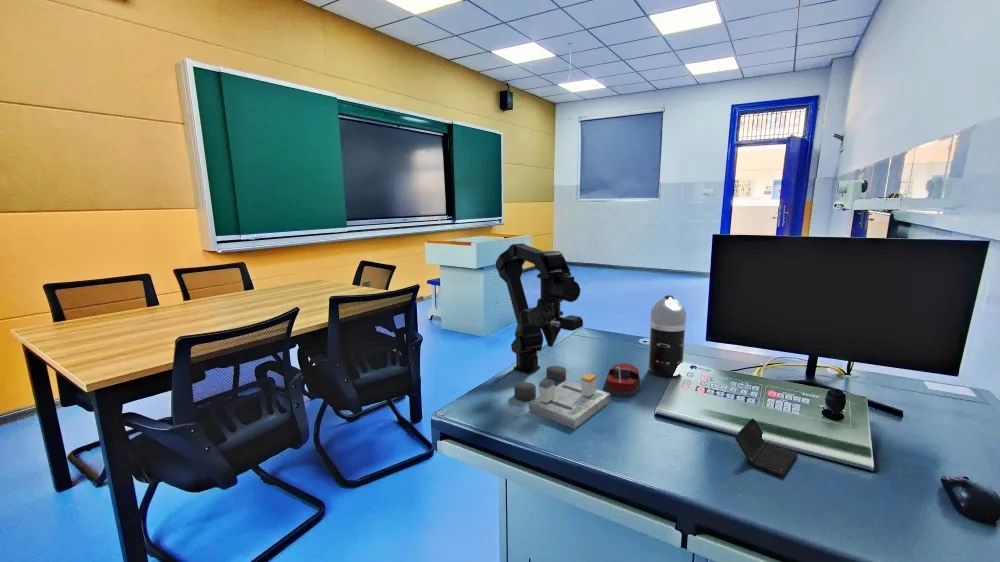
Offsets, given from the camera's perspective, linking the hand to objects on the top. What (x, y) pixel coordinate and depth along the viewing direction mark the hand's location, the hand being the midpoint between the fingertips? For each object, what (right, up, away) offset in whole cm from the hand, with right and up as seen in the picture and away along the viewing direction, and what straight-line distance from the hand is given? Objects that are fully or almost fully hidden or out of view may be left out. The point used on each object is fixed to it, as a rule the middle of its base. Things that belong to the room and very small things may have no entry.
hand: (550, 346), depth 125 cm
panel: (+4, -14, -11) cm, 19 cm away
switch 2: (+9, -11, -10) cm, 18 cm away
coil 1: (-8, -13, -5) cm, 16 cm away
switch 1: (-2, -12, -13) cm, 18 cm away
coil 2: (+3, -11, +6) cm, 13 cm away
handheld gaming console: (+41, -19, -35) cm, 57 cm away
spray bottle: (+37, -10, +9) cm, 40 cm away
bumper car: (+21, -12, 0) cm, 24 cm away
